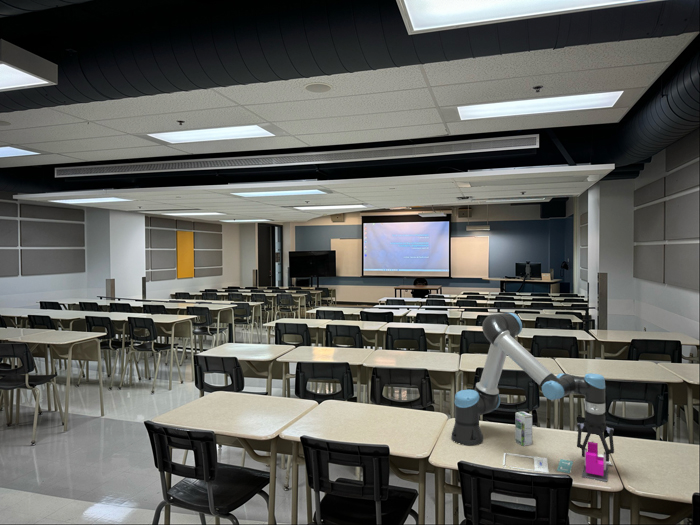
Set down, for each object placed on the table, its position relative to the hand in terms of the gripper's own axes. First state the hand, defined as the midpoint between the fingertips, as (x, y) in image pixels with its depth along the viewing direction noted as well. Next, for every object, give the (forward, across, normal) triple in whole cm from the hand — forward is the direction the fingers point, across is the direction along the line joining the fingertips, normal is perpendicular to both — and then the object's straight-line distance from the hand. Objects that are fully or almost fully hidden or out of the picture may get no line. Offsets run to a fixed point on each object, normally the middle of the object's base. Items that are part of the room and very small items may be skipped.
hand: (595, 466), depth 193 cm
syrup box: (+2, -31, +16) cm, 35 cm away
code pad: (+2, -11, -1) cm, 12 cm away
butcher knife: (+2, +2, +15) cm, 15 cm away
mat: (+2, 0, 0) cm, 2 cm away
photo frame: (+3, -27, -6) cm, 28 cm away
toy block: (0, 0, 0) cm, 0 cm away
